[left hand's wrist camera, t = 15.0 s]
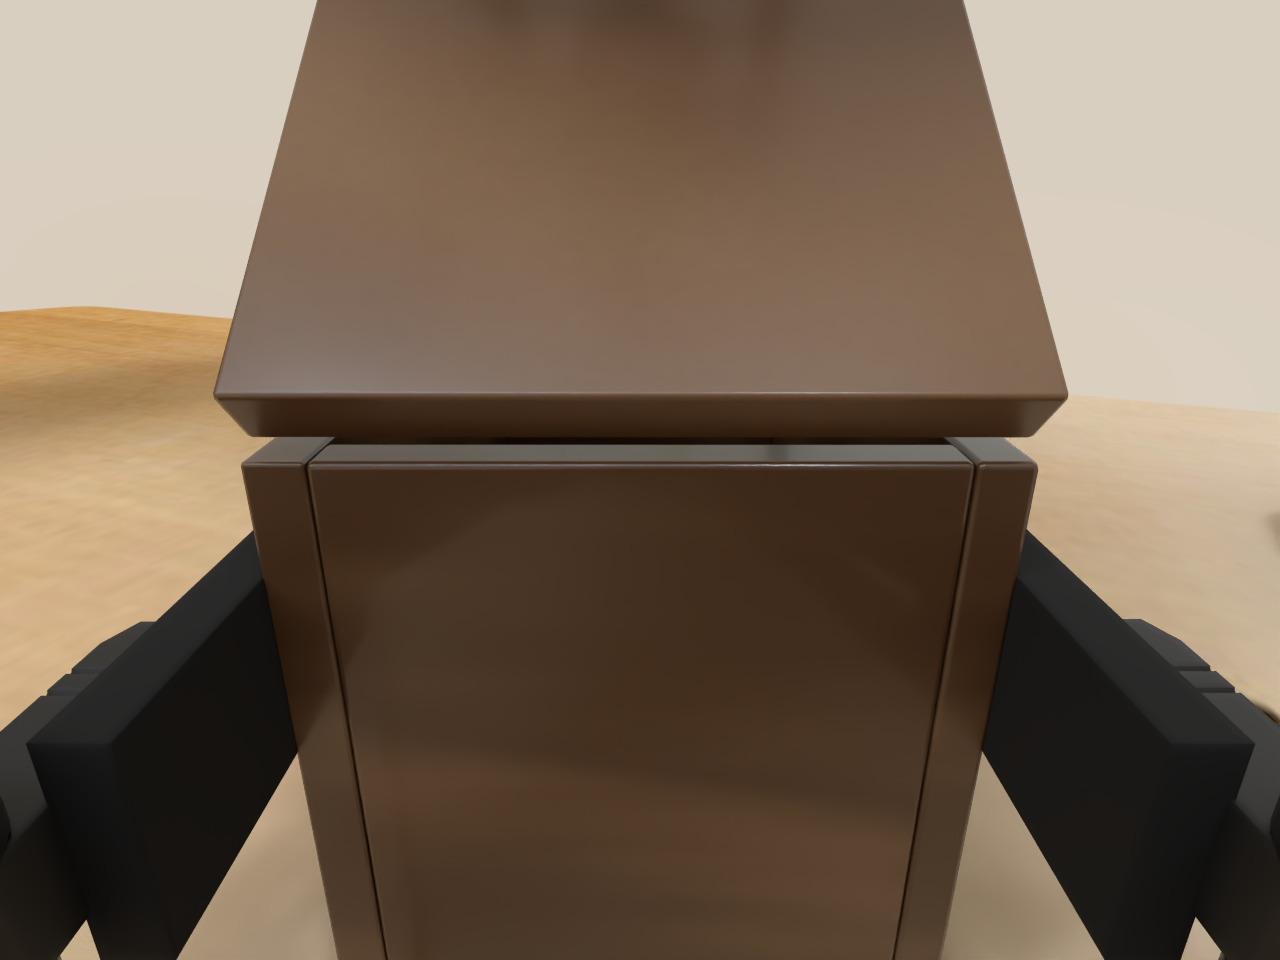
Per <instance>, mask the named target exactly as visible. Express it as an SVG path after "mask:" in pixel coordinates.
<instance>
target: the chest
mask: <svg viewBox="0 0 1280 960" xmlns="http://www.w3.org/2000/svg"><path fill="white" fill-rule="evenodd" d="M241 469H242V474H243V479H244V484H245V489H246V494H247V499H248V504H249V509H250V515H251V520H252V525H253V530H254V535H255V540H256V545H257V550H258V555H259V560H260V565H261V570H262V576H263V581H264V586H265V591H266V596H267V601H268V606H269V611H270V616H271V621H272V626H273V631H274V637H275V642H276V647H277V652H278V657H279V662H280V667H281V672H282V677H283V682H284V687H285V692H286V698H287V703H288V708H289V713H290V718H291V723H292V728H293V733H294V738H295V743H296V748H297V753H298V759H299V764H300V769H301V774H302V779H303V784H304V789H305V794H306V799H307V804H308V809H309V814H310V819H311V825H312V830H313V835H314V840H315V845H316V850H317V855H318V860H319V865H320V870H321V875H322V880H323V886H324V891H325V896H326V901H327V906H328V911H329V916H330V921H331V926H332V931H333V936H334V941H335V947H336V952H337V957H338V960H941V955H942V950H943V945H944V940H945V935H946V930H947V925H948V920H949V915H950V910H951V905H952V900H953V895H954V890H955V885H956V880H957V875H958V870H959V865H960V860H961V855H962V850H963V845H964V840H965V835H966V830H967V825H968V820H969V815H970V810H971V805H972V800H973V795H974V790H975V785H976V780H977V775H978V769H979V764H980V759H981V754H982V749H983V744H984V739H985V734H986V729H987V724H988V719H989V714H990V709H991V704H992V699H993V694H994V689H995V684H996V679H997V674H998V669H999V664H1000V659H1001V654H1002V649H1003V644H1004V639H1005V634H1006V629H1007V624H1008V619H1009V614H1010V609H1011V604H1012V599H1013V594H1014V589H1015V584H1016V579H1017V574H1018V569H1019V564H1020V558H1021V553H1022V548H1023V543H1024V538H1025V533H1026V528H1027V523H1028V518H1029V513H1030V508H1031V503H1032V498H1033V493H1034V488H1035V483H1036V478H1037V473H1038V466H1037V463H1036V462H1035V461H1033V460H1032V459H1031V458H1029V457H1028V456H1027V455H1025V454H1024V453H1023V452H1021V451H1020V450H1019V449H1017V448H1016V447H1015V446H1013V445H1012V444H1011V443H1009V442H1008V441H1007V440H1005V439H1004V438H1003V437H276V438H274V439H273V440H272V441H270V442H269V443H268V444H266V445H265V446H264V447H262V448H261V449H260V450H258V451H257V452H256V453H255V454H253V455H252V456H251V457H249V458H248V459H247V460H245V461H244V462H243V463H242V465H241Z"/></svg>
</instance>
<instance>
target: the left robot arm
mask: <svg viewBox="0 0 1280 960" xmlns="http://www.w3.org/2000/svg"><path fill="white" fill-rule="evenodd" d="M47 692H48V693H47V695H46V696H40V697H39V698H38V699H37V700H36V701H35V702H34V703H32V704H31V705H30V706H29V707H28V708H27V709H26V710H24V711H23V712H22V713H21V714H20V715H19V716H18V717H17V718H15V719H14V720H13V721H12V722H11V723H10V724H9V725H7V726H6V727H5V728H4V729H3V730H2V731H1V732H0V960H62V959H61V957H60V955H61V953H62V952H63V951H64V949H65V948H66V946H67V945H68V944H69V942H70V941H71V940H72V938H73V937H74V936H75V934H76V933H77V931H78V930H79V929H80V927H81V926H82V925H83V923H84V922H85V921H86V919H87V922H88V925H89V928H90V931H91V934H92V937H93V940H94V942H95V945H96V948H97V951H98V954H99V957H100V960H176V959H177V958H178V956H179V954H180V953H181V951H182V949H183V947H184V946H185V944H186V942H187V941H188V939H189V937H190V935H191V934H192V932H193V930H194V929H195V927H196V925H197V923H198V922H199V920H200V918H201V917H202V915H203V913H204V912H205V910H206V908H207V906H208V905H209V903H210V901H211V900H212V898H213V896H214V894H215V893H216V891H217V889H218V888H219V886H220V884H221V882H222V881H223V879H224V877H225V876H226V874H227V872H228V871H229V869H230V867H231V865H232V864H233V862H234V860H235V859H236V857H237V855H238V853H239V852H240V850H241V848H242V847H243V845H244V843H245V841H246V840H247V838H248V836H249V835H250V833H251V831H252V830H253V828H254V826H255V824H256V823H257V821H258V819H259V818H260V816H261V814H262V812H263V811H264V809H265V807H266V806H267V804H268V802H269V800H270V799H271V797H272V795H273V794H274V792H275V790H276V789H277V787H278V785H279V783H280V782H281V780H282V778H283V777H284V775H285V773H286V771H287V770H288V768H289V766H290V765H291V763H292V761H293V759H294V758H295V756H296V754H297V748H296V743H295V738H294V733H293V728H292V723H291V718H290V713H289V708H288V703H287V698H286V692H285V687H284V682H283V677H282V672H281V667H280V662H279V657H278V652H277V647H276V642H275V637H274V631H273V626H272V621H271V616H270V611H269V606H268V601H267V596H266V591H265V586H264V581H263V576H262V570H261V565H260V560H259V555H258V550H257V545H256V540H255V535H254V530H253V531H252V532H251V533H250V534H249V535H248V536H247V537H246V538H244V539H243V540H242V541H241V542H240V543H239V544H238V545H237V546H236V547H235V548H234V549H233V550H232V551H231V552H230V553H228V554H227V555H226V556H225V557H224V558H223V559H222V560H221V561H220V562H219V563H218V564H217V565H216V566H215V567H213V568H212V569H211V570H210V571H209V572H208V573H207V574H206V575H205V576H204V577H203V578H202V579H201V580H200V581H199V582H197V583H196V584H195V585H194V586H193V587H192V588H191V589H190V590H189V591H188V592H187V593H186V594H185V595H184V596H183V597H181V598H180V599H179V600H178V601H177V602H176V603H175V604H174V605H173V606H172V607H171V608H170V609H169V610H168V611H167V612H165V613H164V614H163V615H162V616H161V617H160V618H159V619H158V620H157V621H156V622H139V623H138V624H136V625H134V626H132V627H130V628H128V629H126V630H125V631H123V632H121V633H119V634H117V635H115V636H113V637H112V638H110V639H108V640H106V641H104V642H102V643H101V644H99V645H98V646H97V647H96V648H95V649H94V650H93V651H91V652H90V653H89V654H88V655H87V656H86V657H85V658H83V659H82V660H81V661H80V662H79V663H78V664H77V665H76V666H74V667H73V668H72V672H71V674H65V675H64V676H63V677H62V678H61V679H60V680H59V681H57V682H56V683H55V684H54V685H53V686H52V687H51V688H49V689H48V690H47ZM982 751H983V753H984V755H985V756H986V758H987V760H988V762H989V763H990V765H991V767H992V768H993V770H994V772H995V774H996V775H997V777H998V779H999V780H1000V782H1001V784H1002V785H1003V787H1004V789H1005V791H1006V792H1007V794H1008V796H1009V797H1010V799H1011V801H1012V803H1013V804H1014V806H1015V808H1016V809H1017V811H1018V813H1019V815H1020V816H1021V818H1022V820H1023V821H1024V823H1025V825H1026V826H1027V828H1028V830H1029V832H1030V833H1031V835H1032V837H1033V838H1034V840H1035V842H1036V844H1037V845H1038V847H1039V849H1040V850H1041V852H1042V854H1043V855H1044V857H1045V859H1046V861H1047V862H1048V864H1049V866H1050V867H1051V869H1052V871H1053V873H1054V874H1055V876H1056V878H1057V879H1058V881H1059V883H1060V885H1061V886H1062V888H1063V890H1064V891H1065V893H1066V895H1067V896H1068V898H1069V900H1070V902H1071V903H1072V905H1073V907H1074V908H1075V910H1076V912H1077V914H1078V915H1079V917H1080V919H1081V920H1082V922H1083V924H1084V925H1085V927H1086V929H1087V931H1088V932H1089V934H1090V936H1091V937H1092V939H1093V941H1094V943H1095V944H1096V946H1097V948H1098V949H1099V951H1100V953H1101V955H1102V956H1103V958H1104V960H1181V957H1182V954H1183V951H1184V948H1185V945H1186V943H1187V940H1188V937H1189V934H1190V931H1191V928H1192V925H1193V922H1194V920H1195V917H1196V918H1197V919H1198V920H1199V922H1200V923H1201V925H1202V926H1203V927H1204V929H1205V930H1206V931H1207V933H1208V934H1209V935H1210V937H1211V938H1212V939H1213V941H1214V942H1215V943H1216V945H1217V946H1218V947H1219V949H1220V950H1221V954H1220V957H1219V959H1218V960H1280V727H1279V726H1278V725H1277V724H1276V723H1275V722H1274V721H1272V720H1271V719H1270V718H1269V717H1268V716H1267V715H1266V714H1264V713H1263V712H1262V711H1261V710H1260V709H1259V708H1258V707H1256V706H1255V705H1254V704H1253V703H1252V702H1251V701H1250V700H1248V699H1247V698H1246V697H1245V696H1244V695H1243V694H1242V693H1235V687H1234V686H1232V685H1231V684H1230V683H1229V682H1228V681H1227V680H1226V679H1224V678H1223V677H1222V676H1221V675H1220V674H1219V673H1218V672H1216V671H1211V670H1210V665H1208V664H1207V663H1206V662H1205V661H1204V660H1203V659H1201V658H1200V657H1199V656H1198V655H1197V654H1196V653H1195V652H1193V651H1192V650H1191V649H1190V648H1189V647H1188V646H1187V645H1185V644H1184V643H1183V642H1182V641H1181V640H1179V639H1177V638H1175V637H1173V636H1171V635H1170V634H1168V633H1166V632H1164V631H1162V630H1160V629H1158V628H1156V627H1155V626H1153V625H1151V624H1149V623H1147V622H1145V621H1143V620H1141V619H1122V618H1121V617H1120V616H1119V615H1118V614H1116V613H1115V612H1114V611H1113V610H1112V609H1111V608H1110V607H1109V606H1108V605H1107V604H1106V603H1105V602H1104V601H1103V600H1102V599H1100V598H1099V597H1098V596H1097V595H1096V594H1095V593H1094V592H1093V591H1092V590H1091V589H1090V588H1089V587H1088V586H1087V585H1085V584H1084V583H1083V582H1082V581H1081V580H1080V579H1079V578H1078V577H1077V576H1076V575H1075V574H1074V573H1073V572H1072V571H1071V570H1069V569H1068V568H1067V567H1066V566H1065V565H1064V564H1063V563H1062V562H1061V561H1060V560H1059V559H1058V558H1057V557H1056V556H1055V555H1053V554H1052V553H1051V552H1050V551H1049V550H1048V549H1047V548H1046V547H1045V546H1044V545H1043V544H1042V543H1041V542H1040V541H1038V540H1037V539H1036V538H1035V537H1034V536H1033V535H1032V534H1031V533H1030V532H1029V531H1028V530H1027V529H1026V533H1025V538H1024V543H1023V548H1022V553H1021V558H1020V564H1019V569H1018V574H1017V579H1016V584H1015V589H1014V594H1013V599H1012V604H1011V609H1010V614H1009V619H1008V624H1007V629H1006V634H1005V639H1004V644H1003V649H1002V654H1001V659H1000V664H999V669H998V674H997V679H996V684H995V689H994V694H993V699H992V704H991V709H990V714H989V719H988V724H987V729H986V734H985V739H984V744H983V749H982Z"/></svg>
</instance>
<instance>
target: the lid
mask: <svg viewBox="0 0 1280 960" xmlns="http://www.w3.org/2000/svg"><path fill="white" fill-rule="evenodd" d="M213 393H214V399H215V400H216V401H217V402H218V403H219V404H220V405H221V407H222V408H223V409H224V410H225V411H226V412H227V413H228V414H229V415H230V416H231V417H232V418H233V419H234V421H235V422H236V423H237V424H238V425H239V426H240V427H241V428H242V429H243V430H244V431H245V432H246V433H247V434H248V435H249V436H252V437H1030V436H1033V435H1034V434H1035V433H1036V432H1037V431H1038V430H1039V429H1040V428H1041V427H1042V426H1043V425H1044V424H1045V422H1046V421H1047V420H1048V419H1049V418H1050V417H1051V416H1052V415H1053V414H1054V413H1055V412H1056V411H1057V410H1058V409H1059V408H1060V407H1061V405H1062V404H1063V403H1064V402H1065V401H1066V400H1067V398H1068V390H1067V387H1066V383H1065V379H1064V376H1063V372H1062V368H1061V364H1060V360H1059V357H1058V353H1057V349H1056V345H1055V342H1054V338H1053V334H1052V330H1051V327H1050V323H1049V319H1048V315H1047V312H1046V308H1045V304H1044V300H1043V297H1042V293H1041V289H1040V285H1039V282H1038V278H1037V274H1036V270H1035V267H1034V263H1033V259H1032V256H1031V252H1030V248H1029V244H1028V240H1027V237H1026V233H1025V229H1024V225H1023V222H1022V218H1021V214H1020V211H1019V207H1018V203H1017V199H1016V196H1015V192H1014V188H1013V184H1012V181H1011V177H1010V173H1009V169H1008V166H1007V162H1006V158H1005V154H1004V151H1003V147H1002V143H1001V139H1000V136H999V132H998V128H997V124H996V121H995V117H994V113H993V109H992V106H991V102H990V98H989V95H988V91H987V87H986V83H985V80H984V76H983V72H982V68H981V64H980V61H979V57H978V53H977V49H976V46H975V42H974V38H973V34H972V31H971V27H970V23H969V19H968V16H967V12H966V8H965V5H964V1H963V0H317V3H316V7H315V11H314V14H313V18H312V22H311V26H310V30H309V33H308V37H307V41H306V45H305V49H304V52H303V56H302V60H301V64H300V67H299V71H298V75H297V79H296V82H295V86H294V90H293V94H292V98H291V101H290V105H289V109H288V113H287V116H286V120H285V124H284V128H283V132H282V135H281V139H280V143H279V147H278V151H277V154H276V158H275V162H274V166H273V170H272V173H271V177H270V181H269V185H268V188H267V192H266V196H265V200H264V203H263V207H262V211H261V215H260V219H259V222H258V226H257V230H256V234H255V238H254V241H253V245H252V249H251V253H250V256H249V260H248V264H247V268H246V272H245V276H244V279H243V283H242V287H241V290H240V294H239V298H238V302H237V305H236V309H235V313H234V317H233V321H232V324H231V328H230V332H229V336H228V339H227V343H226V347H225V351H224V355H223V358H222V362H221V366H220V370H219V374H218V377H217V381H216V385H215V389H214V392H213Z"/></svg>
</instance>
